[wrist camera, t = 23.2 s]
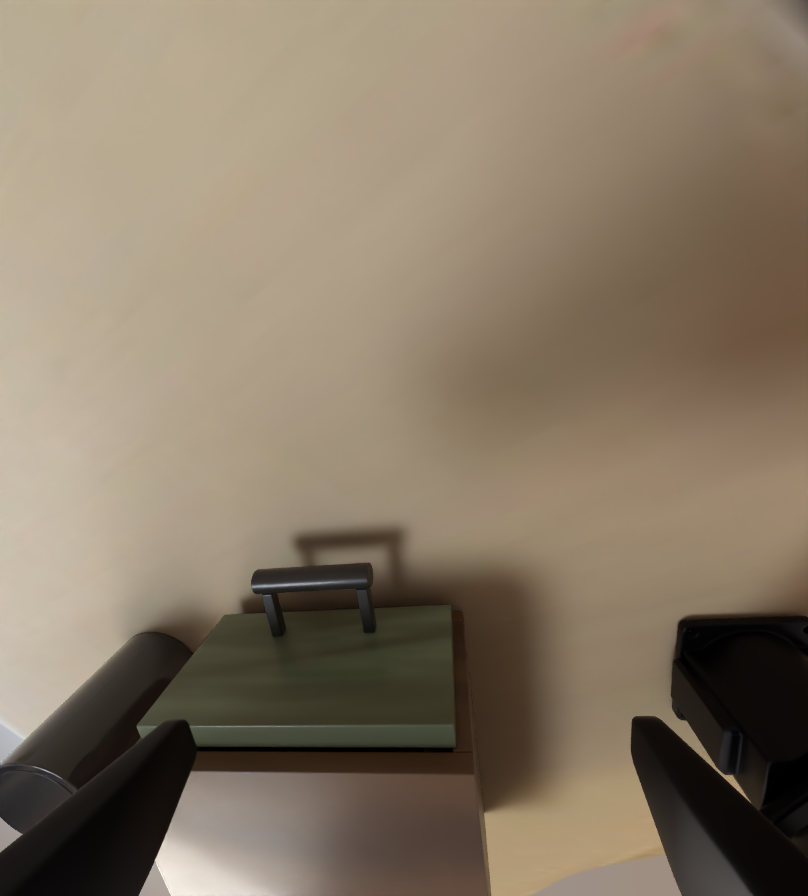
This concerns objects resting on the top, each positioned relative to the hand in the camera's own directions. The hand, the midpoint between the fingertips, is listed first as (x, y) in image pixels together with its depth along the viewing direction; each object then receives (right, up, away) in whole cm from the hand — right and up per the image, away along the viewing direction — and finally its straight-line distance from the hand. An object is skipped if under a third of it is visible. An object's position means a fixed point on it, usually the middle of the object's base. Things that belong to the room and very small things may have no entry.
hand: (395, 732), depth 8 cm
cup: (-16, -9, +18) cm, 26 cm away
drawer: (-3, -9, +16) cm, 18 cm away
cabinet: (-3, -12, +17) cm, 21 cm away
